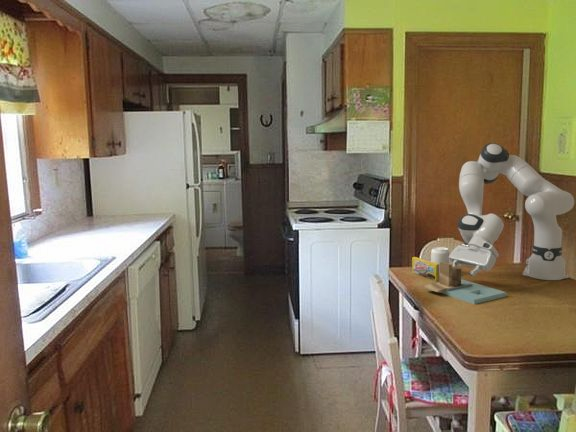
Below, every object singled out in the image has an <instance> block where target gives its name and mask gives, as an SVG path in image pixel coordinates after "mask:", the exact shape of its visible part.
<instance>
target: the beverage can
mask: <svg viewBox="0 0 576 432" xmlns="http://www.w3.org/2000/svg"><path fill="white" fill-rule="evenodd" d="M430 252H431V253H430V261H431V262H434V263H437V264H439V276H440V262H444V263H448V264H450V258H449V255H450V251H449V248H448V247H443V246H437V247H436V246H435V247H432V249H431V251H430Z"/></svg>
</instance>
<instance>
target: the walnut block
mask: <svg viewBox="0 0 576 432" xmlns="http://www.w3.org/2000/svg"><path fill="white" fill-rule="evenodd" d="M462 270H463V269H462V267H458V266H457V267H453V266H452V275H451V286H453V287H458V286H461V279H462V272H463V271H462Z"/></svg>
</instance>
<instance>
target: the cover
mask: <svg viewBox="0 0 576 432" xmlns="http://www.w3.org/2000/svg"><path fill="white" fill-rule="evenodd" d="M452 267H453V263H449V264H448V263H444V262H440V275H439V282H438V283H435V282H432V283H433V284H430V283H428V284H424V285H423V286H422V287H423V288H424V289H426V290H430V291H431V292H432V291H433V292H436V293H439V292H441V291H446V290H447V289H449V288H454V287H453V286H451V275H452Z"/></svg>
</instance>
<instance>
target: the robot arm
mask: <svg viewBox="0 0 576 432" xmlns="http://www.w3.org/2000/svg"><path fill="white" fill-rule="evenodd" d="M499 174H502V175H504V176H506V178H507V179H508V180H509V182H511V184H512V185H513V186H514V187H515V188H516V189H517V190H518V191H519V192H520V193H521V194H522V195H524V196H527V197H526V199H525V201H524V202H525V203H524V208H525V211H526V212H527V214H529V215H530V217H531V220H532V224H533V231H534V232H533V233H534V234H533V235H534V236H533V244H532V248H531V249H532V250H531V252H532V254H531V255H530V256H529V257H528V258H526V260H525V264H526V266H525V268H524V270H523V272H522V276H526V277H530V278H533V279H537V280H542V281H543V280H545V281H561V280H563V279H569V278H570V276H569V274H567V273H566V260H565V258H564V257H563V256H562V255H563V247H562V239H563V237H562V236H563V230H562V228H561V227H560V226H559V223H558V221H557V216H560V215H564V214H565V213H568V212H569V211H571V210H572V209H573V208H574V205H575V198H574V196H573V194H572V193H570V192H568V191H566V190H563V189H561V188H559V187H558V186H557V185H555V184H553V183H552V182H550V181H548V180H546V178H544V177H543V176H542V175H541V174H539V173H538V172H537V170H535V169H534V168H533V167H532V166H531V165H530V164H529V163H528V162H526V161H525V160H524V159H522V158H521V157H520V156H517V155H515V154H511V155H510V154H509V152H508V150H506V149H505V148H504V146H502V145H501V144H499V143H495V142H494V143H493V142H492V143H491V142H490V143H486V144H485V145H484V146H483V147H482V149H481V151H480V154H479V156H478V159H477V161H474V160H469V161H467V162H465V163H464V164H463V165H462V166H461V169H460V172H459V179H458V189H459V194H460V196H461V199H462V201H463V203H464V205H465V208H466V211H467V214H464V215H462V216H461V217H459V219H458V220H457V223H456V224H457V228H458V231H459V233H460V235H461V237H462V239H463V243H461V244H458V245H457V246H455V248H454V249H453V250H452V251H451V252H450V253H449V261H451V262H452V267H458V266H459V265H464V266H468V267H471V268H474V269H473V270H470V271H469V275H470V276H471V277H475V276H476V274H479V272H481V271H482V270H484V271H488V272H489V271H490V270H492V269H493V267H494V266H495V264H496V261H497V258H498V257H499V256H500V254H499V252H498V250H497V249H496V248H495V247H494V243H495V242H496V241H497V240H498V239H499V237H500V235H501V233H502V232H503V229H504V226H505V224H504V221H503V220H502V218H501V217H500V216H499V215H497V214H495V213H488V214H483V204H484V203H483V202H484V187H485V184H493V183H494V182H495V181H496V180H497V179H498V178H499V176H500V175H499Z"/></svg>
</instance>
